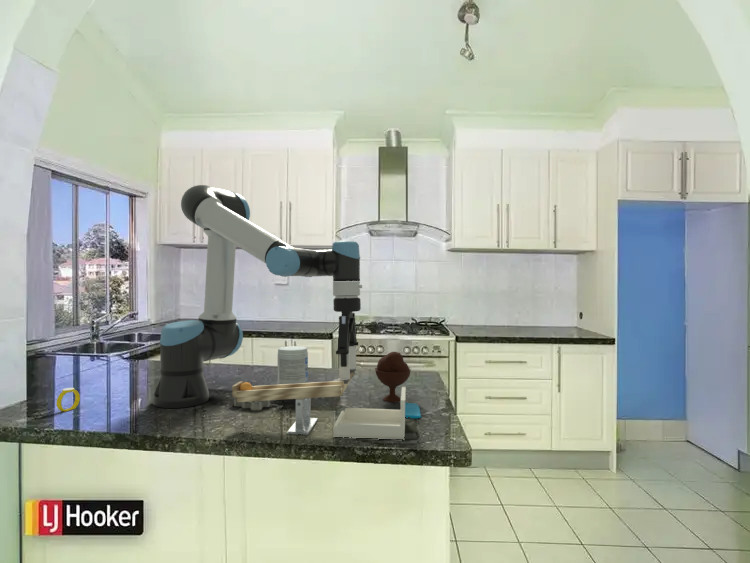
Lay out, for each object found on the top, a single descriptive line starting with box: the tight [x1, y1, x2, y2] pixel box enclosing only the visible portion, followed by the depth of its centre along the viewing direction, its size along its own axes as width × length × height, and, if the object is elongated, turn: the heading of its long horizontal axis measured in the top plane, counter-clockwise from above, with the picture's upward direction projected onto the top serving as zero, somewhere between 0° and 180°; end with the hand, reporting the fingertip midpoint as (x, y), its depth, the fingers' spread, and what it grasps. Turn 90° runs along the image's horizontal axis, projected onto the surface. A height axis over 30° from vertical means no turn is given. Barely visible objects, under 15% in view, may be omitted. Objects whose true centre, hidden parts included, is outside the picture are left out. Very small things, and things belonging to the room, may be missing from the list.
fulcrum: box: [286, 398, 319, 436], centre depth 113 cm, size 5×11×8 cm, turn 175°
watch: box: [56, 387, 81, 413], centre depth 125 cm, size 6×3×6 cm, turn 165°
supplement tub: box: [277, 345, 309, 385], centre depth 145 cm, size 10×10×15 cm
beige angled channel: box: [231, 368, 357, 402], centre depth 124 cm, size 28×26×4 cm
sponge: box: [405, 402, 422, 419], centre depth 127 cm, size 2×12×6 cm
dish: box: [332, 386, 407, 441], centre depth 112 cm, size 17×13×9 cm
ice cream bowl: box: [374, 351, 411, 403], centre depth 139 cm, size 11×11×15 cm
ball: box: [240, 381, 253, 391], centre depth 114 cm, size 3×3×3 cm
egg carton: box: [230, 392, 271, 411], centre depth 132 cm, size 11×8×4 cm
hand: (348, 373), depth 126 cm, fingers open, 13 cm apart
